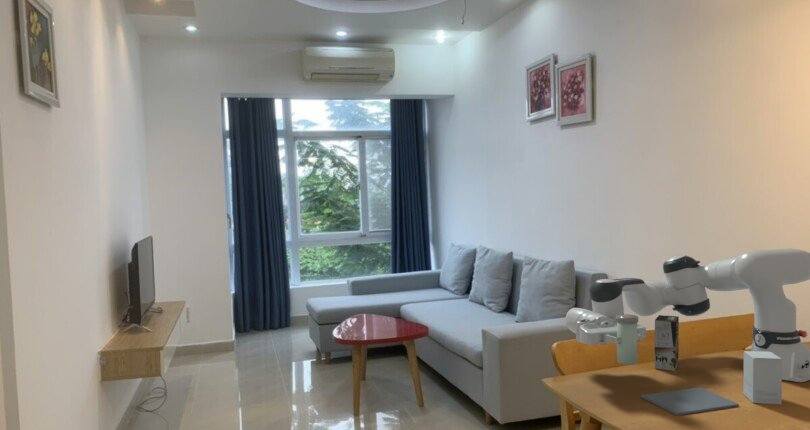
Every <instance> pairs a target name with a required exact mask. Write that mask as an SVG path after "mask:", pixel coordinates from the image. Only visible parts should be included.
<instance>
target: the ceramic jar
mask: <svg viewBox="0 0 810 430" xmlns="http://www.w3.org/2000/svg"><path fill="white" fill-rule="evenodd" d="M616 321H617V337H620V338H621V343H620V344H616V357H617V358H616V361H617V362H618V363H619V364H621V365H636V364H638V342H637V325H638V323H639V315H635V314H627V313H626V314H625V313H624V314H620V315H616Z"/></svg>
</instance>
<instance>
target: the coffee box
mask: <svg viewBox="0 0 810 430" xmlns="http://www.w3.org/2000/svg"><path fill="white" fill-rule="evenodd" d="M679 323H680V320H679V316H677V315H661V314H659V315H658V316H657V317H656V318H655V319H654V369H657V370H665V371H671V372H675V371H676V370H677V367H678V366H679V362H680V361H679V359H680V358H679V356H680V353H679V352H680V349H679V347H680V346H679V341H680V339H679V335H680V332H679V328H680V327H679V326H680V325H679Z"/></svg>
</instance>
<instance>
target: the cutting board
mask: <svg viewBox="0 0 810 430" xmlns="http://www.w3.org/2000/svg"><path fill="white" fill-rule="evenodd" d="M640 396H641V399H644V400H646V401H648V402H649V403H652V404H654V405H656V406H658V407H659V408H662V409H663V410H665V411H667V412H669V413H671V414H673V415H675V416H683V415H688V414H689V415H690V414H695V413H697V414H698V413H702V412H709V411H715V410H717V411H718V410H722V409H730V408H735V407H739V406H740V404H739V403H738V402H735V401H733V400H730V399H728V398H726V397H724V396H721V395H719V394H716V393H715V392H712V391H710V390H707V389H705V388H703V387H700V386H698V387H690V388H684V389H678V390H677V389H676V390H670V391H662V392H655V393H654V392H653V393H648V394H641V395H640Z"/></svg>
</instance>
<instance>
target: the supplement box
mask: <svg viewBox="0 0 810 430" xmlns="http://www.w3.org/2000/svg"><path fill="white" fill-rule="evenodd" d="M782 383H783V380H782V359H781V358H780V357H778V356H777V355H775V354H774V353H772V352H764V351H751V350H750V351H749V350H743V395H744V396H745V397H746V398H747V399H749V401H750V402H751V403H752V404H765V405H782V404H783V402H782V399H783V398H782V395H783V393H782V390H783V388H782V386H783V384H782Z"/></svg>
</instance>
